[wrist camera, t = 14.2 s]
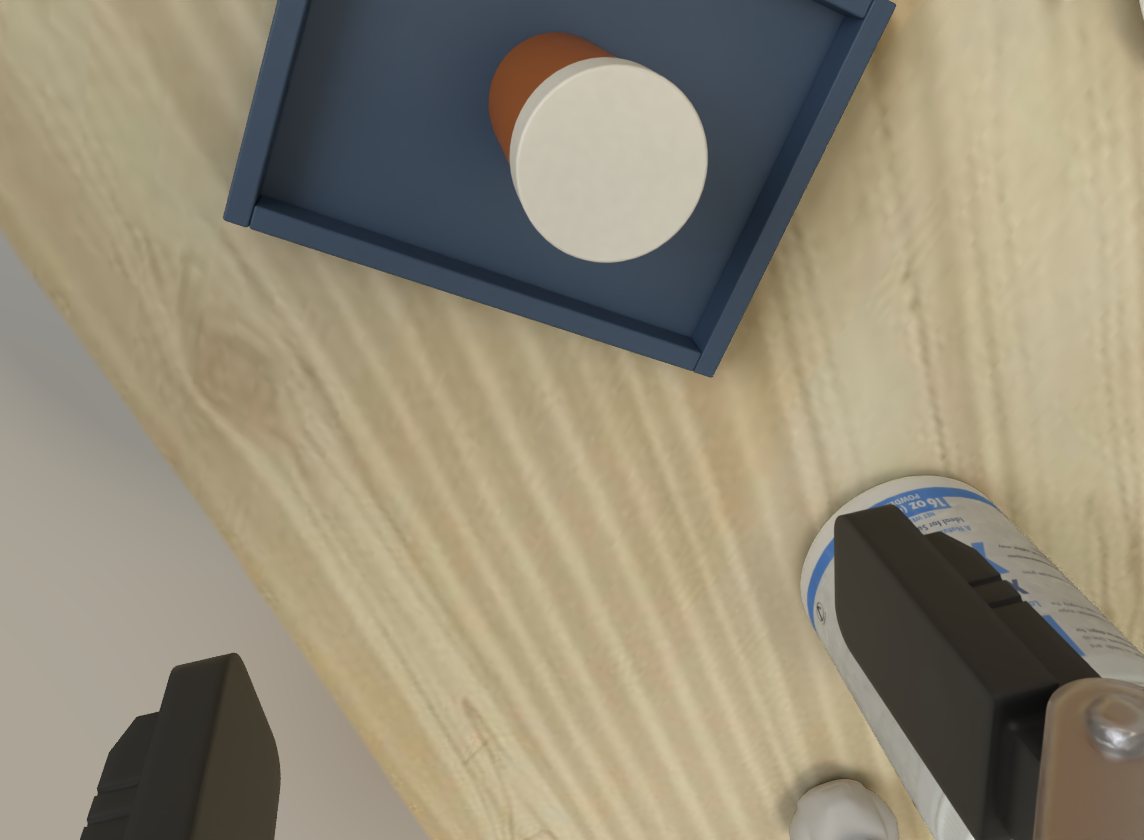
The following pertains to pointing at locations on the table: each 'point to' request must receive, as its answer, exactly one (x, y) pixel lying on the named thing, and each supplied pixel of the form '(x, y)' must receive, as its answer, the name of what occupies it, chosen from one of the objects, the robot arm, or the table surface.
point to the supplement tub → (1018, 563)
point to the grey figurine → (843, 814)
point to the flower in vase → (1142, 7)
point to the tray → (482, 172)
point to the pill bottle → (597, 147)
